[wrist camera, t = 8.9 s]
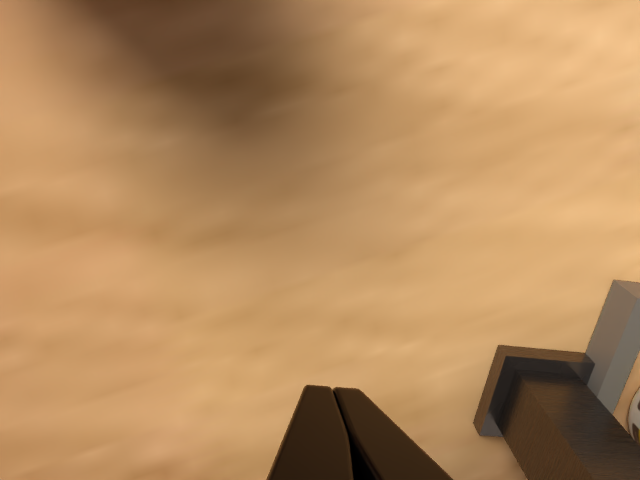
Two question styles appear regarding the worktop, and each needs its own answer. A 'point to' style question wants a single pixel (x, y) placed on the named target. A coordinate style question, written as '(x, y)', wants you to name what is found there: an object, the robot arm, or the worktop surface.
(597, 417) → the clip post
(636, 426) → the supplement bottle
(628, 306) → the collar
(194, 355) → the worktop surface
